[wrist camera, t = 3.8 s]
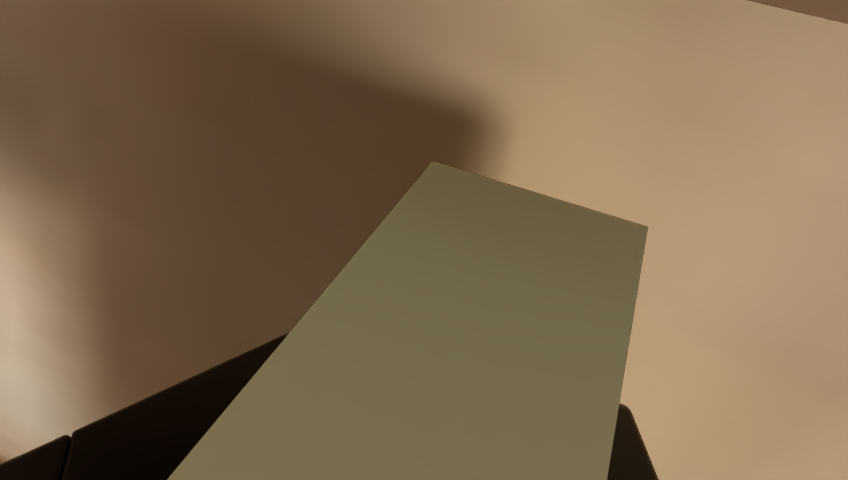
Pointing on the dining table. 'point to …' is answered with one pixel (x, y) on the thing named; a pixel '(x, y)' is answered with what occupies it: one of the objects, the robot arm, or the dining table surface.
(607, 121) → the dining table surface
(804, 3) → the walnut rail
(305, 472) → the pale green pillar
